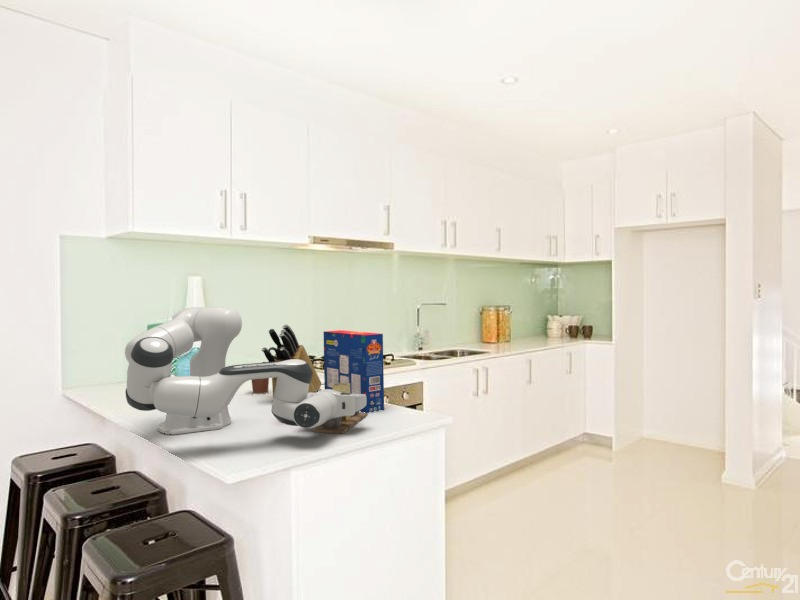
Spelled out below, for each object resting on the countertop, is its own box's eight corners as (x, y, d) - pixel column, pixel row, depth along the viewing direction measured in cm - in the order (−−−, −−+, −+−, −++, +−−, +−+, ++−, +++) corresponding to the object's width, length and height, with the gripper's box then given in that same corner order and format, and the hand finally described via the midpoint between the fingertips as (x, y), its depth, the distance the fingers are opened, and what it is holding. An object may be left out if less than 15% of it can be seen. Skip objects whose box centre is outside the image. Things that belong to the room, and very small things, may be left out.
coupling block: (345, 422, 175) (345, 385, 175) (332, 421, 176) (332, 385, 176) (351, 418, 180) (350, 382, 180) (338, 418, 181) (337, 382, 181)
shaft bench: (343, 433, 166) (343, 418, 166) (313, 431, 168) (313, 417, 168) (367, 415, 189) (367, 402, 189) (340, 414, 191) (340, 401, 191)
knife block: (260, 405, 210) (258, 325, 210) (298, 388, 244) (297, 320, 244) (286, 406, 207) (285, 325, 207) (322, 389, 241) (320, 320, 241)
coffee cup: (268, 395, 230) (267, 367, 230) (246, 395, 230) (246, 367, 230) (273, 391, 239) (273, 364, 239) (253, 391, 240) (252, 364, 239)
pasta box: (384, 410, 198) (382, 333, 197) (366, 413, 193) (364, 335, 192) (341, 399, 219) (340, 330, 219) (324, 401, 214) (323, 331, 214)
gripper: (295, 413, 168) (313, 404, 182) (358, 415, 163) (371, 406, 177) (295, 392, 168) (313, 385, 182) (358, 395, 163) (371, 387, 177)
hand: (342, 395), depth 179 cm, fingers open, 8 cm apart
